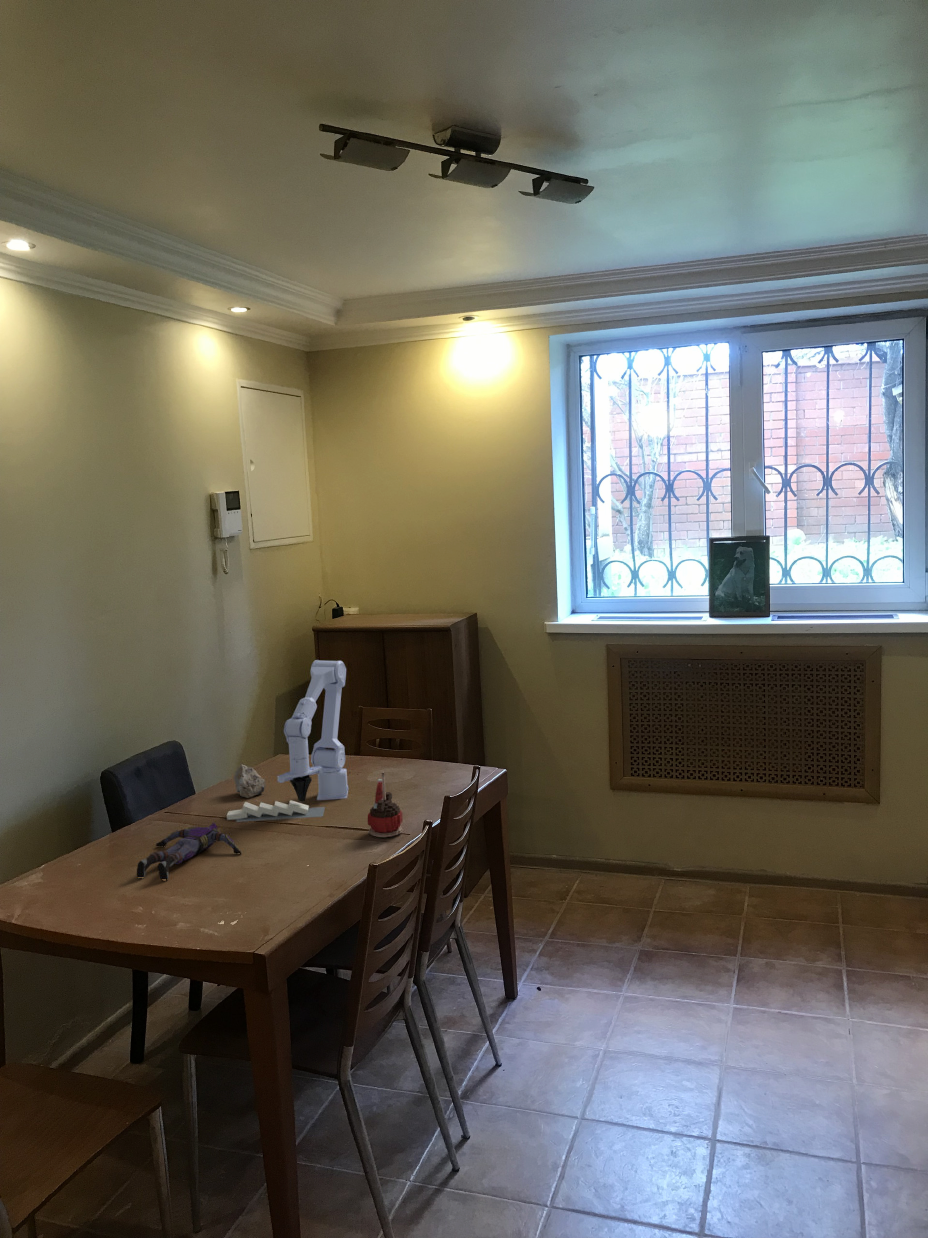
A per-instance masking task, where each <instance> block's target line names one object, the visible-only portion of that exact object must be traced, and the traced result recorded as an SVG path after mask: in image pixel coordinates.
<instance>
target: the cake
mask: <svg viewBox="0 0 928 1238" xmlns="http://www.w3.org/2000/svg"><path fill="white" fill-rule="evenodd" d="M385 776H386V772H385V771H382V772H381V778H379V779H377V785H376V789H375V797H374V798H375V800H374V803H373V806H372V807H371V808H370V809H369V813H368V814H367V825H368V826H369V827H370V828H369V830H368V833H369V835H371V836H373V837H377V838H389V837H394V836H397V835H399V834H401V833H402V832H403V831H404V827H402V825H401V824H402V823H403V812H402V810H401V809H400V808H401V807H400V806H399V805H397V803H396V802H392V799H393V794H392V791H387V792H386V777H385Z"/></svg>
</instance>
